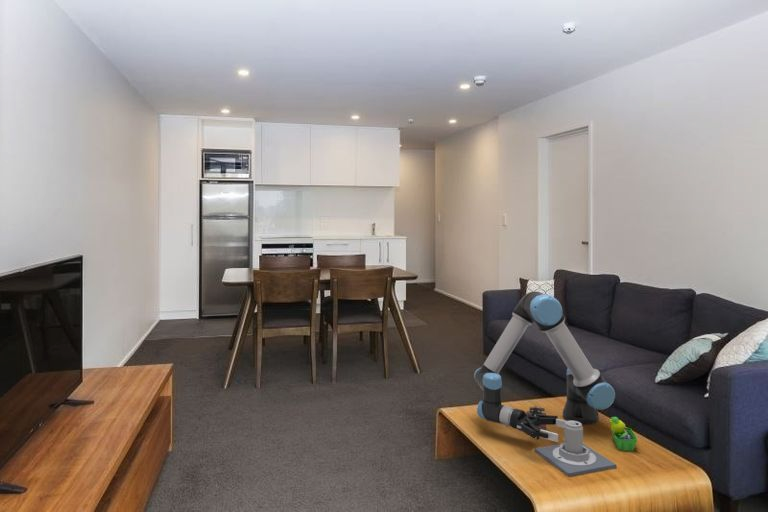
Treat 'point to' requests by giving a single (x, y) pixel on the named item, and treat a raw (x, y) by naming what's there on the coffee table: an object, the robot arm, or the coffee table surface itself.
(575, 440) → the beverage can
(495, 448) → the coffee table surface
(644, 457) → the coffee table surface
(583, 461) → the board
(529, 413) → the brown piece
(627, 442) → the fruit basket
